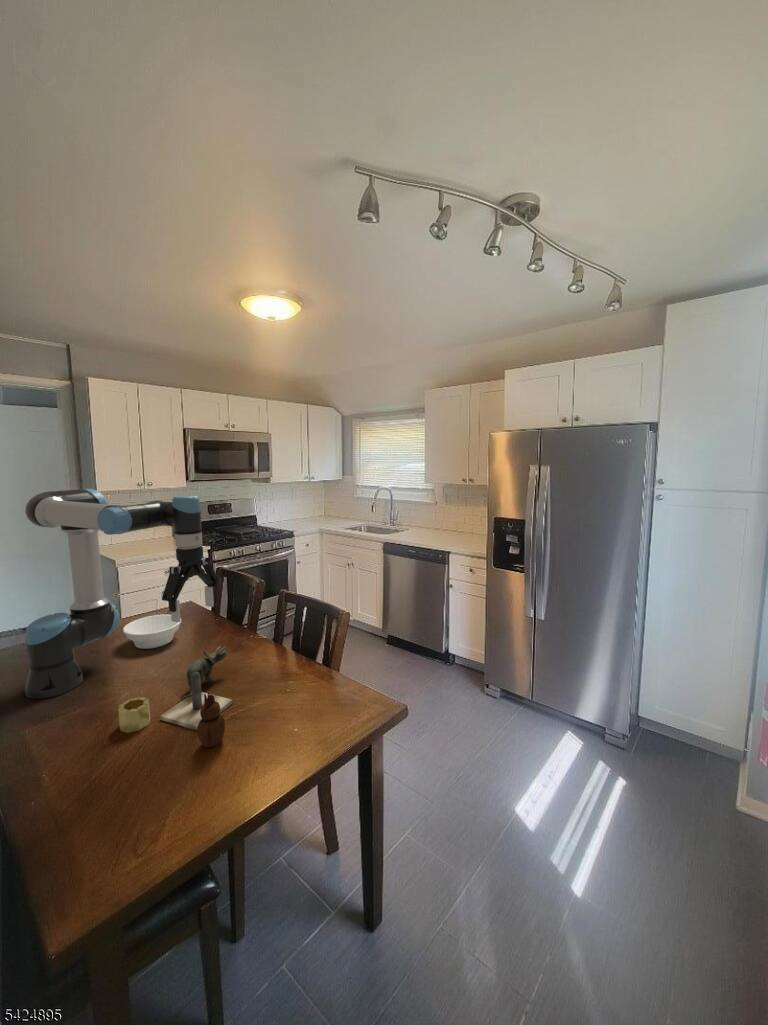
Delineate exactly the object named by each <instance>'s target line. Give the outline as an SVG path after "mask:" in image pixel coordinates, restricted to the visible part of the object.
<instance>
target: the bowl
mask: <svg viewBox="0 0 768 1025" xmlns="http://www.w3.org/2000/svg"><path fill="white" fill-rule="evenodd" d="M180 619H181V620H182V618H181V617H180ZM181 623H182V621H181V622H174V621H172V620H171V614H154V615H150V616H144V617H141V618H138V619H135V620H132V621H131V622H129V623H127V624H125V625H124V627H123V629H122V632H123V634H124V635H125V636H126V637H127V639H129V640H130V641H132V642H133V644H134V646H135V647H136V648H137V649H142V650H143V649H144V650H145V649H147V650H148V649H154V648H155V649H156V648H160V647H163V646H165V645H167V644H169V643H170V642H172V641H173V639H174V635H175V633H176V632H177V631H178V630H179V628H180V625H181Z"/></svg>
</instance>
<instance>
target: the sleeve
mask: <svg viewBox="0 0 768 1025" xmlns="http://www.w3.org/2000/svg"><path fill="white" fill-rule="evenodd" d="M150 706H151V705H150V699H149V698H148V697H143V696H139V697H133V698H129V699H128V700H126V701H124V702H122V703H121V704H119V707H118V710H117V711H118V713H117V714H118V722H119V730H120V732H123V733H127V734H129V733H133V732H137V731H141V730H142V729H144V728H145V727H147V726H148V725H150V723H151V709H150V708H151V707H150Z"/></svg>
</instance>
